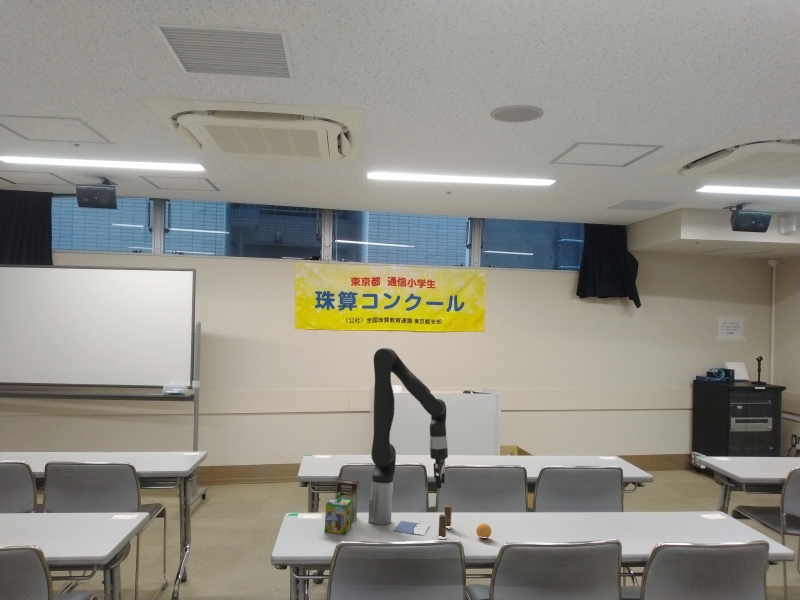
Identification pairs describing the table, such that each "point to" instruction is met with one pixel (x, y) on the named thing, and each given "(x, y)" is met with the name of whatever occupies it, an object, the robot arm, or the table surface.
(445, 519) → the post
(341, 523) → the chalk box
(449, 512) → the post
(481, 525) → the ball
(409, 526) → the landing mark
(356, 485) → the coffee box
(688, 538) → the table surface
